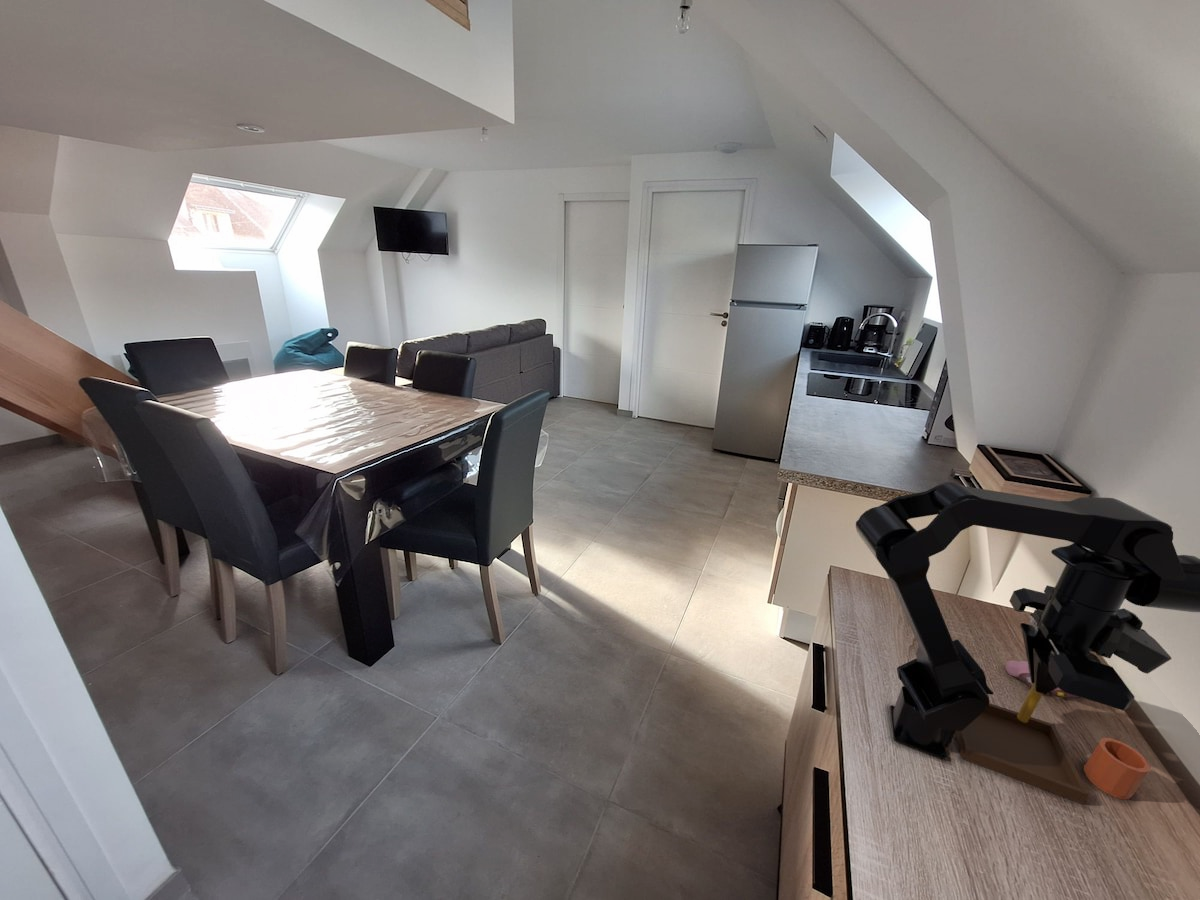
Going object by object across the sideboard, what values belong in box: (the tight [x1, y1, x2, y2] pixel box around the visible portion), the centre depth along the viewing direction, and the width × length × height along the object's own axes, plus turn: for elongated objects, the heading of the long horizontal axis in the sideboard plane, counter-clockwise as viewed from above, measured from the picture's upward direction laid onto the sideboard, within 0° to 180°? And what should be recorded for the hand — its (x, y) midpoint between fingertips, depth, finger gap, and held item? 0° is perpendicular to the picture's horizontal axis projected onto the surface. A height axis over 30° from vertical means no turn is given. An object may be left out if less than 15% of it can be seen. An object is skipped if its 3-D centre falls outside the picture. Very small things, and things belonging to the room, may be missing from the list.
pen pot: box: [1083, 737, 1152, 800], centre depth 62 cm, size 5×5×6 cm
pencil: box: [1017, 682, 1043, 723], centre depth 63 cm, size 1×1×9 cm
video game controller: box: [1005, 659, 1080, 698], centre depth 76 cm, size 10×5×7 cm, turn 65°
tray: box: [954, 702, 1090, 805], centre depth 67 cm, size 13×11×2 cm
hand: (1038, 688), depth 63 cm, fingers closed on pencil, 1 cm apart
